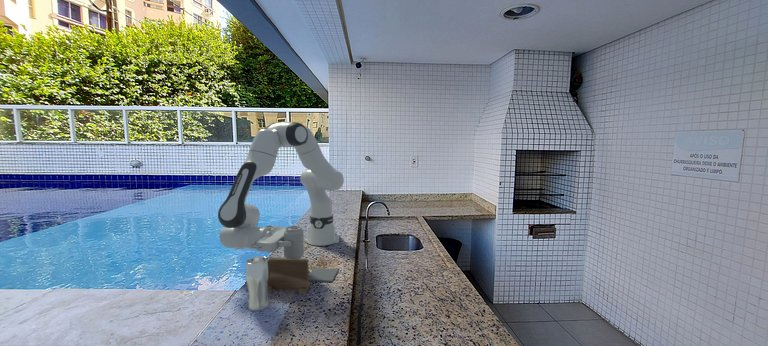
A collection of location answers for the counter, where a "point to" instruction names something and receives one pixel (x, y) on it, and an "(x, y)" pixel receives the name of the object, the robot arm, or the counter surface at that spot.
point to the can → (294, 242)
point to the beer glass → (258, 282)
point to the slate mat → (322, 275)
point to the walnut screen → (288, 275)
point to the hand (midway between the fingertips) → (295, 239)
